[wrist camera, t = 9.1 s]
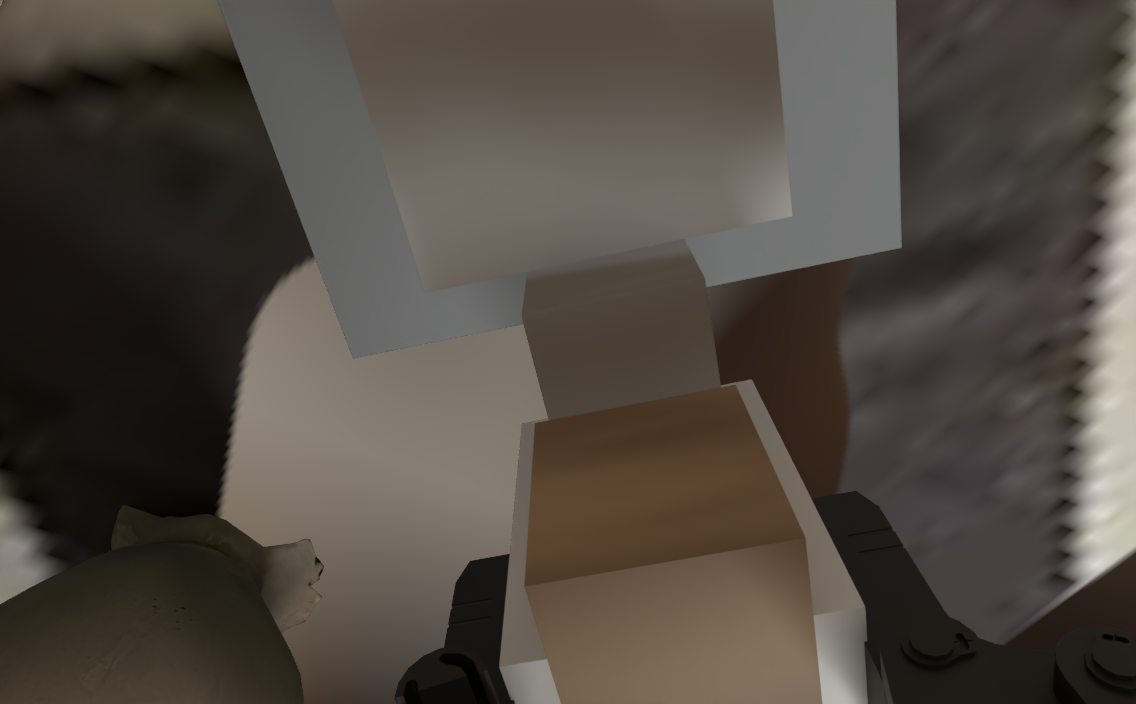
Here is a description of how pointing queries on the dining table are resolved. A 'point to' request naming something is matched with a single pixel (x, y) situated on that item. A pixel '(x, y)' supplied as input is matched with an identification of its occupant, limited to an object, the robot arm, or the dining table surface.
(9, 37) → the dining table surface
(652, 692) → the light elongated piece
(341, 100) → the mat
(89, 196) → the dining table surface
